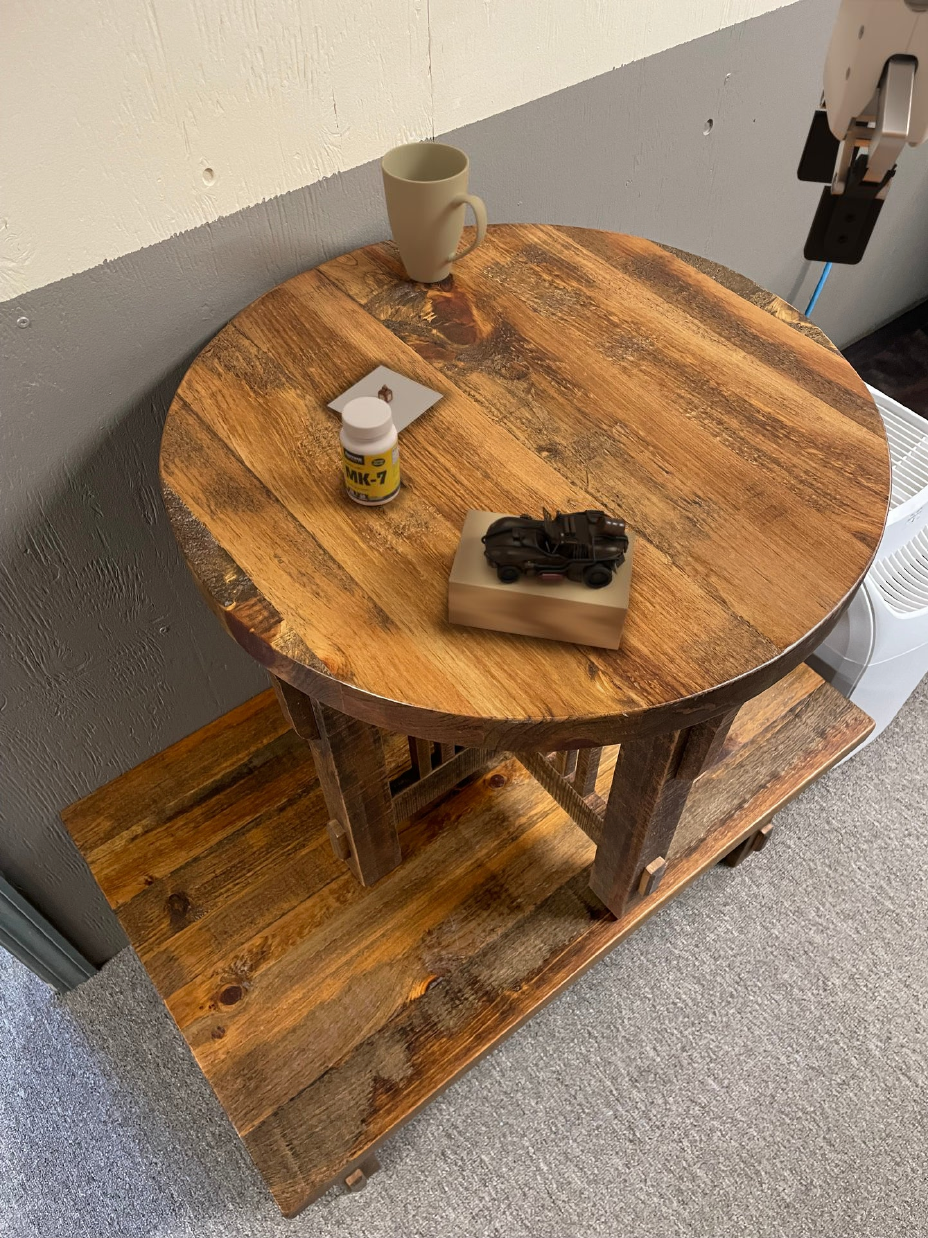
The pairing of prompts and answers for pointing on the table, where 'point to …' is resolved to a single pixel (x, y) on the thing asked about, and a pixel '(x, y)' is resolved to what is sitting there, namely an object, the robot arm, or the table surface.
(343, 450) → the supplement bottle
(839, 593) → the table surface
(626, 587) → the birch block
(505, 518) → the toy car
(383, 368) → the gray square plate
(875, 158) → the robot arm
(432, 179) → the mug
